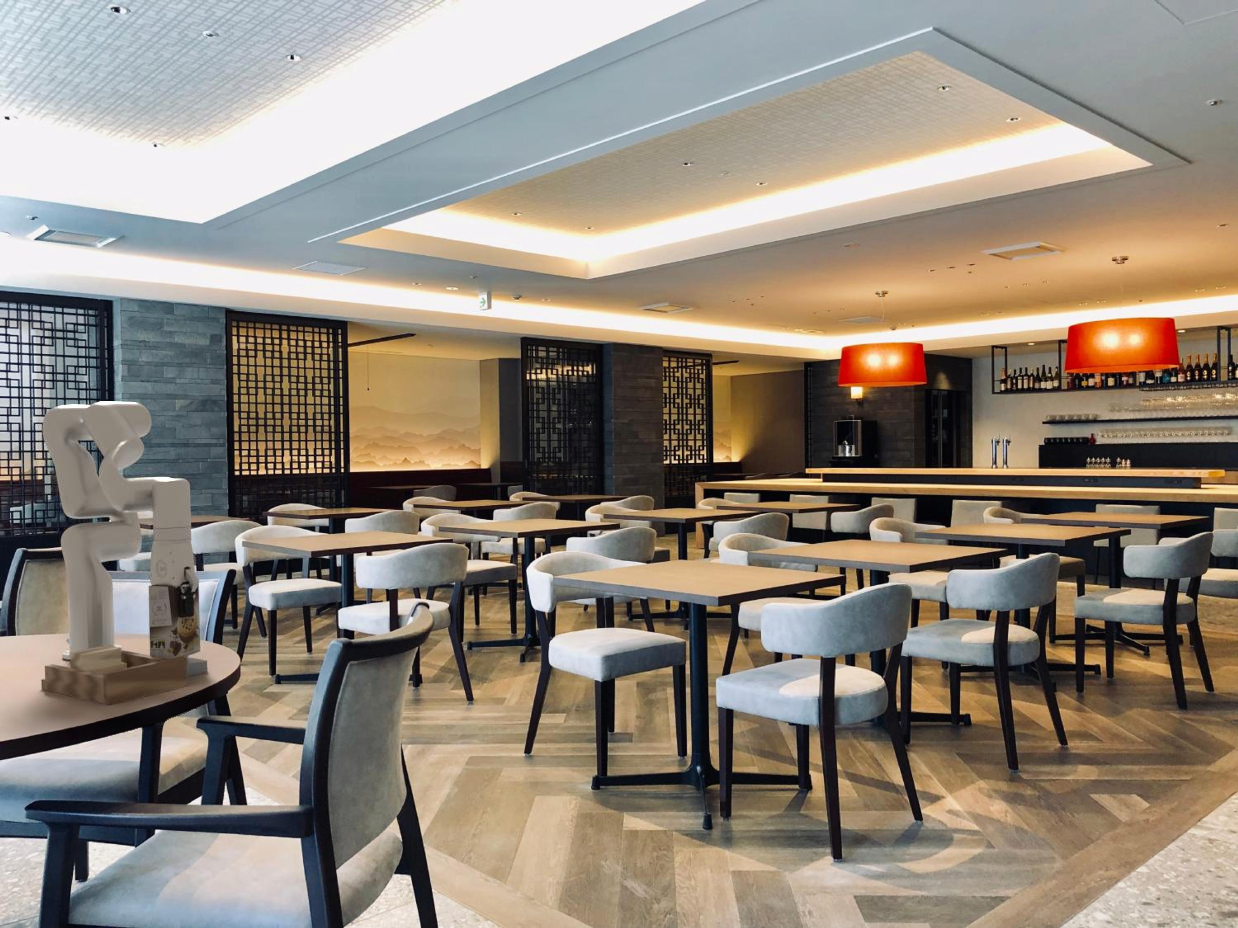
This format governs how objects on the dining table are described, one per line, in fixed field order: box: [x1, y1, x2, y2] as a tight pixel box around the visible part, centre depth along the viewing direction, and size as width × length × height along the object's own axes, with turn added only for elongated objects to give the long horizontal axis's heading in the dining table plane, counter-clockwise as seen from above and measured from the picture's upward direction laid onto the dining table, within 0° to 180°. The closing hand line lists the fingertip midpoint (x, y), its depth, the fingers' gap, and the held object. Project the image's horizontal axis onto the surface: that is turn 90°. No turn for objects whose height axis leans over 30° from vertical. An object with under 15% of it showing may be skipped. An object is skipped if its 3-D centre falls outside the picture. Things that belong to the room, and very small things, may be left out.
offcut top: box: [70, 645, 121, 671], centre depth 204 cm, size 5×8×4 cm, turn 144°
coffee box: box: [148, 583, 201, 659], centre depth 212 cm, size 9×6×16 cm
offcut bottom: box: [87, 662, 127, 675], centre depth 204 cm, size 6×10×4 cm, turn 147°
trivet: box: [186, 656, 208, 677], centre depth 212 cm, size 10×8×2 cm
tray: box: [40, 649, 188, 706], centre depth 200 cm, size 25×16×6 cm, turn 57°
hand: (174, 614), depth 212 cm, fingers closed on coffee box, 8 cm apart
